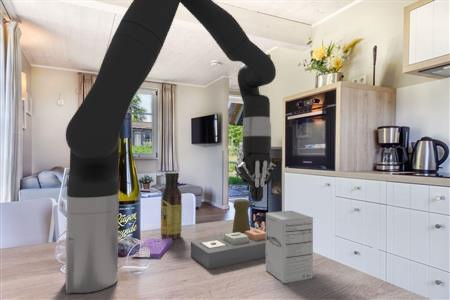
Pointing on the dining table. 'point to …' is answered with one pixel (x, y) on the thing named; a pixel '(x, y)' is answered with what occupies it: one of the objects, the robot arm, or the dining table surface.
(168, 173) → the sauce bottle
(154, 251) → the sponges
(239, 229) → the cork
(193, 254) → the keypad
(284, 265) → the supplement box
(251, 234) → the terracotta key
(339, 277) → the dining table surface
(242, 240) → the sage key
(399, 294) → the dining table surface
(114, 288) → the dining table surface
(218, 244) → the cream key
